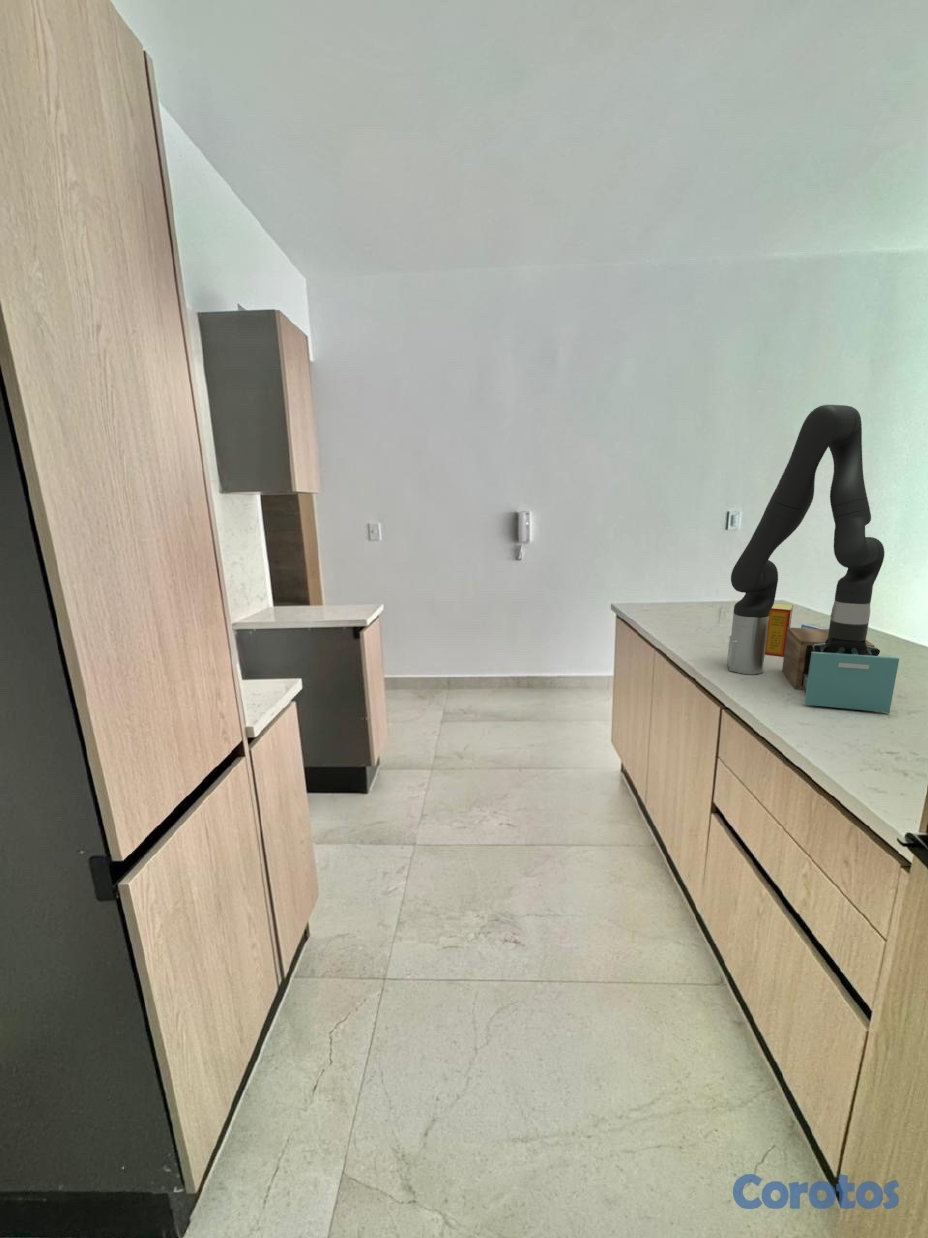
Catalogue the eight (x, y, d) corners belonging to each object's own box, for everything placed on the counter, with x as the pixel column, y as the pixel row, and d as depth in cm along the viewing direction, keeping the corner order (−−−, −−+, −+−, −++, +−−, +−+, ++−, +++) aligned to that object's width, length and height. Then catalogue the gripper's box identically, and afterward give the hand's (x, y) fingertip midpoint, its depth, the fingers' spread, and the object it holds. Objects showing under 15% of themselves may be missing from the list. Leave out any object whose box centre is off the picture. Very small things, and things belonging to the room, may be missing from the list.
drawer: (805, 704, 125) (813, 653, 122) (790, 683, 139) (797, 637, 136) (889, 712, 119) (899, 659, 116) (865, 690, 133) (873, 641, 130)
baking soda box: (765, 647, 174) (770, 601, 170) (787, 649, 170) (793, 603, 166) (761, 654, 167) (767, 606, 163) (784, 657, 163) (790, 609, 159)
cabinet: (794, 689, 137) (801, 641, 134) (781, 671, 150) (787, 627, 147) (866, 695, 131) (874, 645, 128) (846, 676, 145) (853, 630, 142)
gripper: (819, 621, 123) (810, 687, 127) (891, 624, 118) (880, 693, 122) (810, 614, 130) (802, 677, 134) (878, 617, 125) (867, 682, 129)
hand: (839, 684), depth 128 cm, fingers closed on slate-blue block, 5 cm apart
